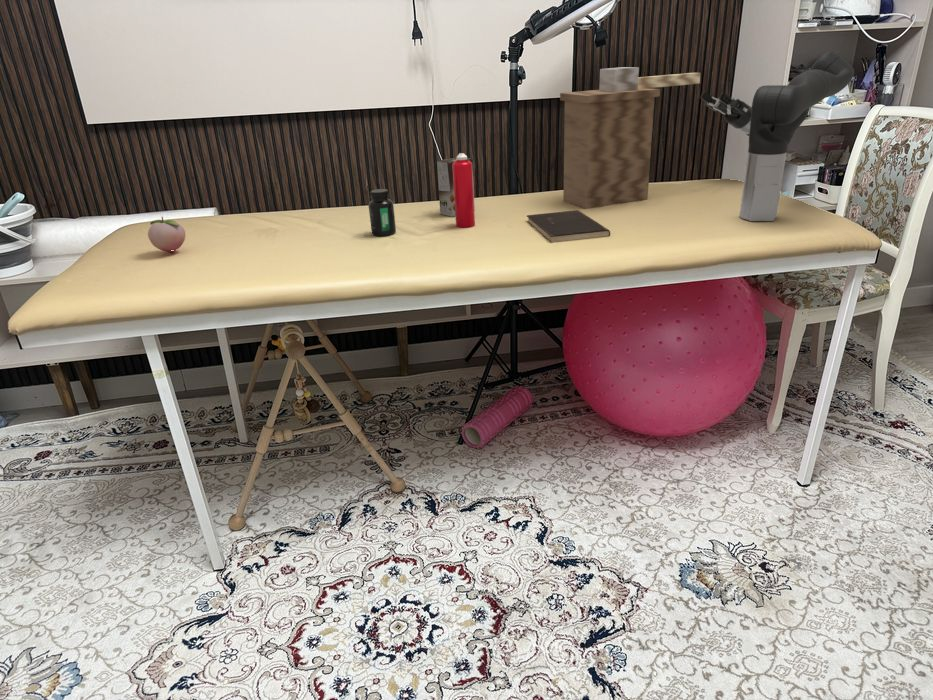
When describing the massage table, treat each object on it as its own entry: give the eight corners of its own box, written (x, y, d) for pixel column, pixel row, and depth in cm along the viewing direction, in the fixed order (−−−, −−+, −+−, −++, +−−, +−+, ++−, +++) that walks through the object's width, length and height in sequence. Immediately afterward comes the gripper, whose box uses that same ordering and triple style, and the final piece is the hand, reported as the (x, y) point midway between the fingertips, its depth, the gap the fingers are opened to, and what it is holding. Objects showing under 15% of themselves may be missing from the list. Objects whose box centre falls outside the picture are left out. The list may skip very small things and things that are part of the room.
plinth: (623, 190, 210) (628, 87, 196) (652, 199, 196) (660, 89, 182) (559, 199, 203) (560, 93, 189) (584, 210, 189) (587, 95, 175)
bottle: (474, 222, 183) (470, 151, 175) (475, 227, 179) (472, 154, 170) (455, 223, 183) (451, 152, 175) (456, 228, 178) (452, 155, 170)
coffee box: (452, 217, 190) (449, 162, 183) (439, 214, 195) (435, 160, 188) (475, 211, 195) (473, 158, 188) (462, 208, 200) (459, 156, 193)
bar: (688, 82, 198) (689, 62, 196) (705, 83, 191) (707, 62, 189) (599, 90, 189) (600, 69, 186) (613, 92, 182) (614, 69, 179)
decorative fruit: (146, 258, 168) (135, 221, 164) (163, 249, 176) (154, 213, 171) (178, 257, 167) (168, 220, 162) (194, 248, 174) (185, 212, 170)
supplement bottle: (391, 237, 174) (387, 193, 169) (368, 236, 175) (363, 193, 170) (399, 230, 180) (394, 187, 175) (376, 230, 181) (371, 188, 176)
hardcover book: (550, 244, 161) (550, 235, 160) (526, 223, 182) (526, 215, 181) (610, 238, 164) (610, 229, 163) (579, 217, 184) (579, 209, 183)
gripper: (734, 105, 211) (702, 82, 204) (766, 108, 199) (733, 84, 191) (722, 127, 213) (690, 105, 205) (753, 131, 201) (720, 108, 193)
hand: (711, 95), depth 198 cm, fingers open, 8 cm apart
